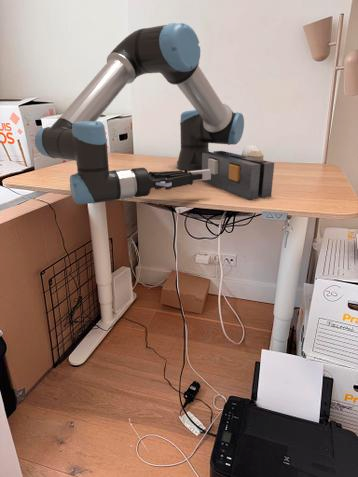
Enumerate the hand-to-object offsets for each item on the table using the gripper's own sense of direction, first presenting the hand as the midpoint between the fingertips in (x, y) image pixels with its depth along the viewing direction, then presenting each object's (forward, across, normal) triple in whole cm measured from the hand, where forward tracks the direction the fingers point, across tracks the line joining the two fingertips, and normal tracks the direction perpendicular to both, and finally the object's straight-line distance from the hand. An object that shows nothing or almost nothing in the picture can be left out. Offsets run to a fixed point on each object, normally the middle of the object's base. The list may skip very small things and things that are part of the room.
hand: (209, 174), depth 97 cm
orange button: (+11, 0, -3) cm, 11 cm away
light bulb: (+32, -22, -7) cm, 40 cm away
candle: (+27, -14, -7) cm, 31 cm away
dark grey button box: (+13, -6, -7) cm, 16 cm away
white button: (+10, -12, -3) cm, 16 cm away
